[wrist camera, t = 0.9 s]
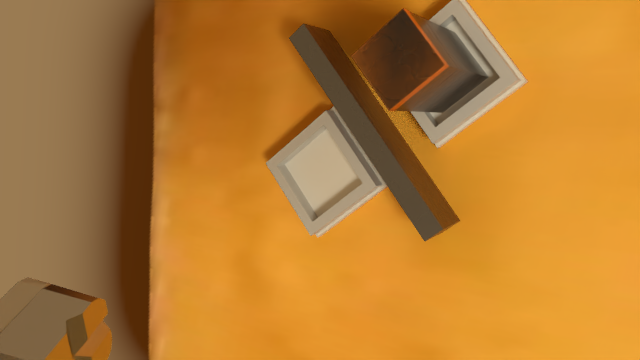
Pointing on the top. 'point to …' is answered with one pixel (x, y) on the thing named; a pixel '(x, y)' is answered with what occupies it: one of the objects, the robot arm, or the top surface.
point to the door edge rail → (375, 132)
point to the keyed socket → (325, 173)
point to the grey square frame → (485, 95)
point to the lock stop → (418, 65)
